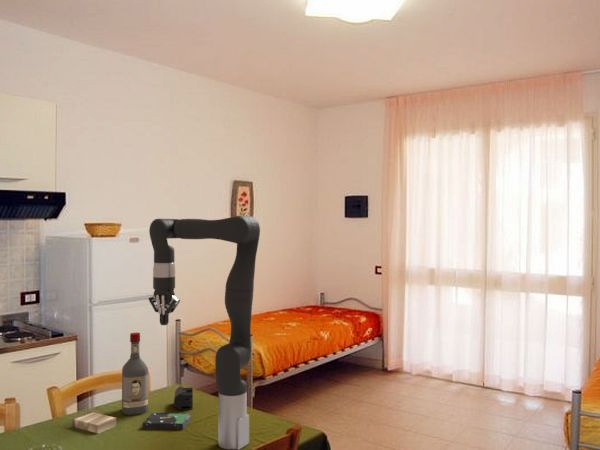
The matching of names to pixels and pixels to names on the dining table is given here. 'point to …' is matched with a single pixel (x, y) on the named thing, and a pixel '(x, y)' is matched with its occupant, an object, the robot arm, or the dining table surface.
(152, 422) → the disk drive
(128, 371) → the liquor
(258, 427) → the dining table surface
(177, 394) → the end cap
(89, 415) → the birch tile
